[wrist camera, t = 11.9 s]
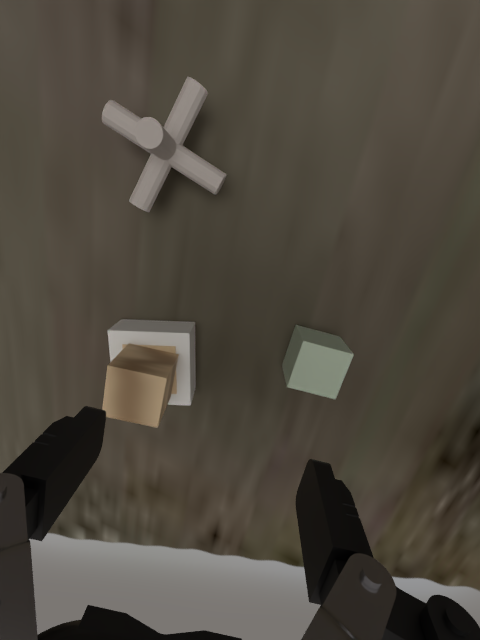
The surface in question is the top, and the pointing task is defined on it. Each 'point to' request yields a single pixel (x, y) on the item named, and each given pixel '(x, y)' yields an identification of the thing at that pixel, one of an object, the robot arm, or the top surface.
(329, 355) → the sage block
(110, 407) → the oak block
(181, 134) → the pipe connector
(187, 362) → the white base
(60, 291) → the top surface
